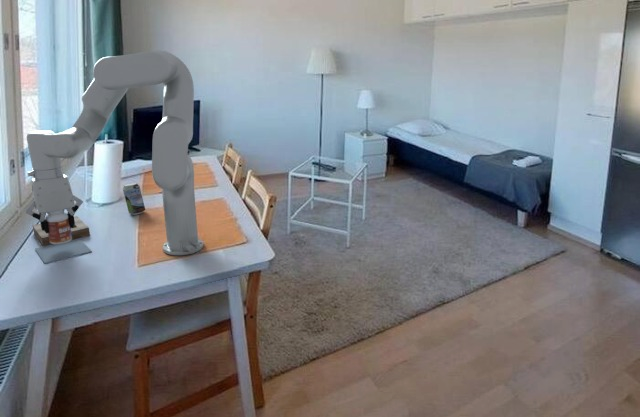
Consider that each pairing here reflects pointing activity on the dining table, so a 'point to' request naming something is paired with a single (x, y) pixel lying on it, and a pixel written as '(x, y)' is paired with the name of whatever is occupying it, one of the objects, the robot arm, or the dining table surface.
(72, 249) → the mat
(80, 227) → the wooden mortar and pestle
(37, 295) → the dining table surface
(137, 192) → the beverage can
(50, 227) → the pill bottle
